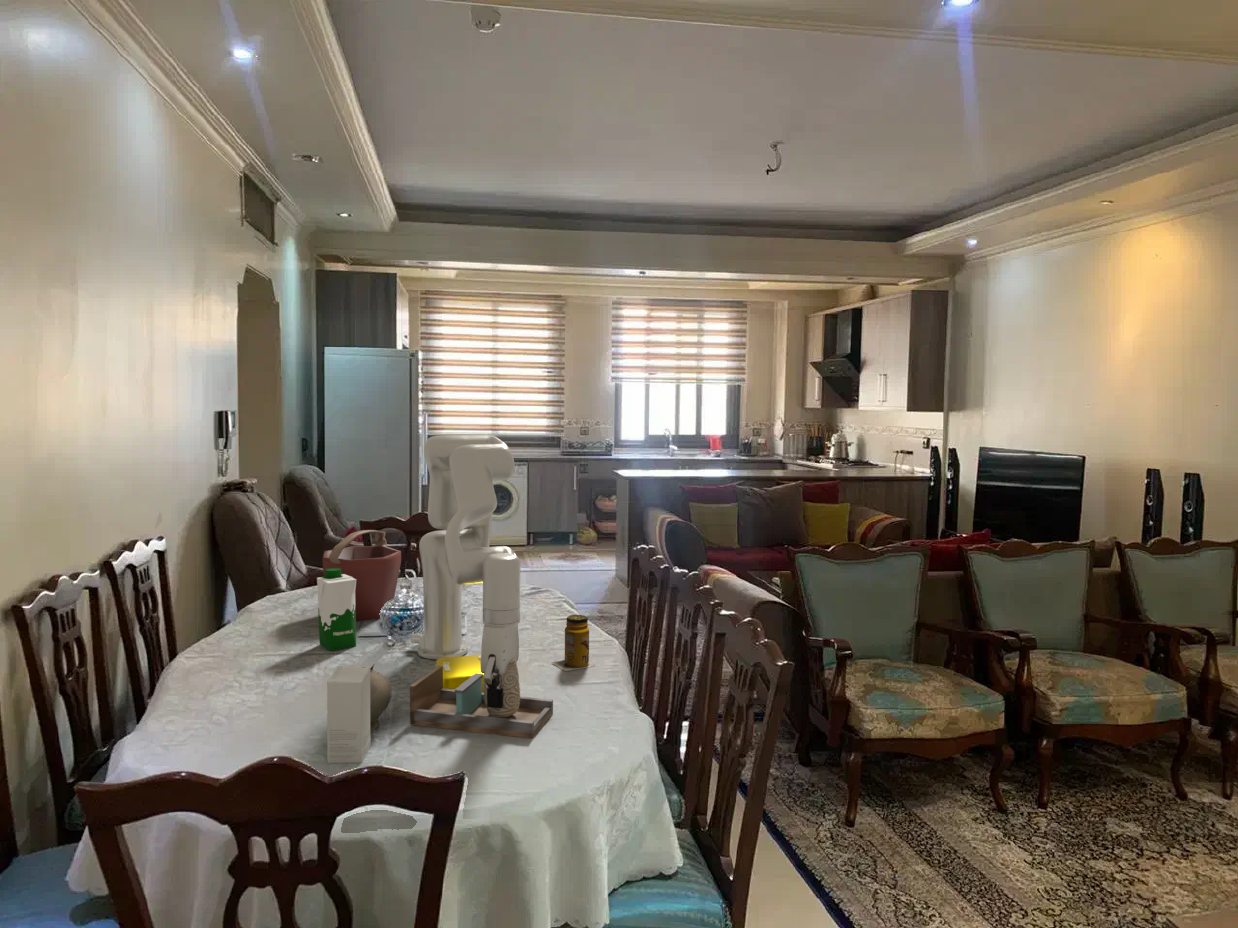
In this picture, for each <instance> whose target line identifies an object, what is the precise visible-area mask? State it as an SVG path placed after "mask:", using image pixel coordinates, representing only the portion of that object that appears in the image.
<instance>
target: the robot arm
mask: <svg viewBox="0 0 1238 928" xmlns="http://www.w3.org/2000/svg"><path fill="white" fill-rule="evenodd" d="M423 448H424V449H423V454H424V455H423V456H424V461H425V464H426V467H427V469H428V472H429V473H428V474H429V487H428V490H429V491H428V503H427V504H428V505H427V506H428V507H427V518H428V523H429V525H430V526H431V527H433V528H434V529H437V530H434V531H430V532H428V533H426V534H424V535H423V536H422V537H421V538H420V540H419V549H418V550H419V558H420V563H421V569H422V583H423V587H422V589H423V590H422V591H423V593H422V594H423V633H422V634H421V633H420V634H419V633H411V634H410V643H411V644H418V645H419V647H418V649H417V655H418V656H419V657H422V658H423V659H427V660H428V659H429V660H438V659H439V658H447V657H459V656H465V655H466V654H467V653H468V652H469V647H468V645H467V644H466V643H464V642H463V641H462V640H463V637H462V635H463V632H462V630H463V629H462V628H463V627H462V626H463V625H462V622H463V621H462V618H463V617H462V613H463V612H462V611H463V610H462V607H463V606H462V586H471V585H480V584H482V623H483V628H482V635H481V636H482V637H481V651H480V655H481V673H483V674H484V673H485V675H484V679H485V681H486V684H487V685H486V688H487V706H488V707H492V708H502V707H503V688H501V685H502V676H503V674H504V673H506V670H507V668H508V664H509V661H510V660H512V659H513V658H515V659H516V662H517V663H518V661H519V657H520V656H519V655H520V654H519V653H520V640H519V639H520V638H519V637H520V636H519V635H520V634H519V624H520V623H521V560H520V558H519V557H518V556H517V555H516V553H515V552H514V550H513V549H512V548H511V547H509V546H506V545H500V546H497V545H496V546H490V545H491V544H490V543H491V533H492V532H491V531H492V522H493V512H494V511H495V510H496V509H497V506H498V499H497V495H496V492H495V488H494V482H496V481H498V482H499V481H508V480H510V479H511V478H512V477H513V475H514V472H515V459H514V455H513V452H512V449H510V447H509V446H508V445H507V443H505V442H504V441H502V439H499V438H498V437H497V436H495V435H490V434H467V435H466V434H444V435H441V434H440V435H433V436H430V437H428V438H427V440H425V443H424V447H423ZM494 669H499V672H498V673H494ZM493 676H498V682H497V681H496V679H494V678H493Z"/></svg>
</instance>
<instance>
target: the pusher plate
mask: <svg viewBox="0 0 1238 928" xmlns="http://www.w3.org/2000/svg"><path fill="white" fill-rule="evenodd" d="M482 677H483V674H479V673H475V674H474V675H472V676H471V677H470V678H469V679H467V680H466V681H465V682H464V683H462V684H461V685H460V686H459V687H458V688H456V689H455V690H454V693H456V713H460V714H470V713H471V712H472V711H473V710H474V709H476V708H477V707H478V706H479V705H480V704H481V703H482V693H483V692H482Z"/></svg>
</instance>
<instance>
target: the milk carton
mask: <svg viewBox="0 0 1238 928" xmlns="http://www.w3.org/2000/svg"><path fill="white" fill-rule="evenodd" d="M356 580H357V579H354V578H353V577H351V576H348V575H345V574H342V575H341V568H328V569H325V576H321V577H316V583H317V584H316V585H317V601H318V602H317V606H318V607H317V608H318V615H317V616H318V638H319V641H318V642H319V645H320V646H321V647H323V648H325V649H326V650H328V651H330V652H332V651H333V652H334V651H337V650H343V649H347V648H348V649H349V648H353V647H357V632H356V631H357V627H356V624H357V621H356V614H355V589H356Z"/></svg>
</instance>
